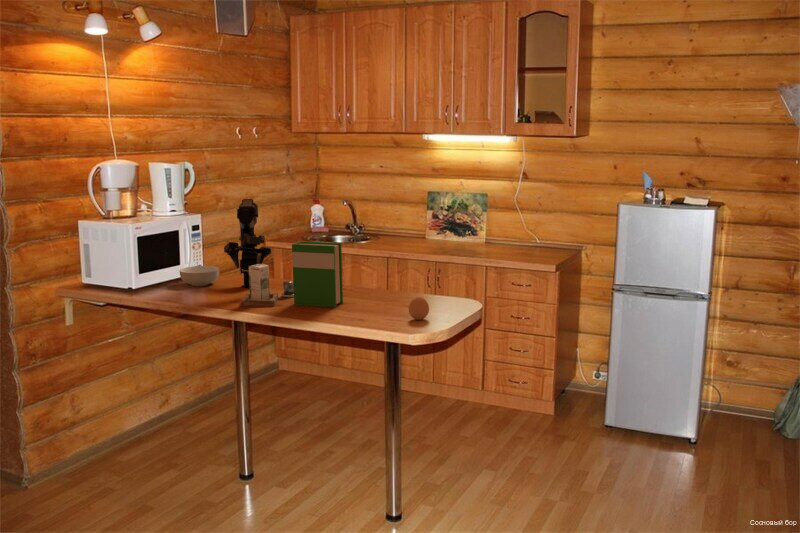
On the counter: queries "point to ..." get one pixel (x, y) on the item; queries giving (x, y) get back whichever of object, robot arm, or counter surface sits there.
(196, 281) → the cereal bowl
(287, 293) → the chuck post
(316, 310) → the counter surface
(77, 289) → the counter surface
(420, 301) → the egg
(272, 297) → the socket tray
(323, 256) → the hardback book
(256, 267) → the syrup box
